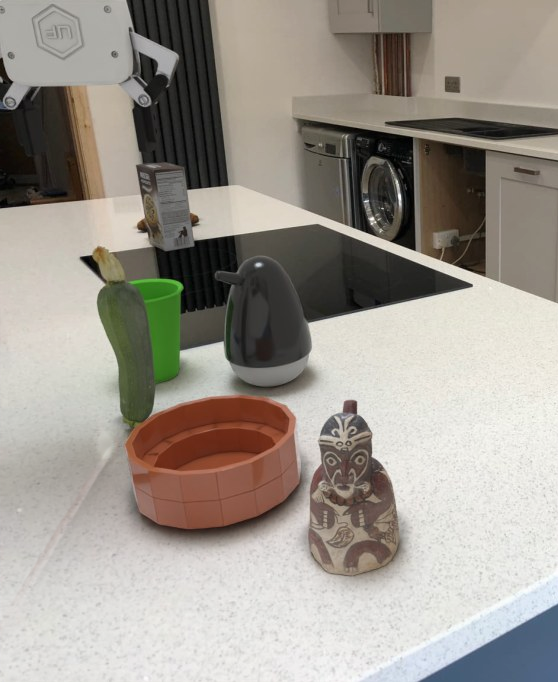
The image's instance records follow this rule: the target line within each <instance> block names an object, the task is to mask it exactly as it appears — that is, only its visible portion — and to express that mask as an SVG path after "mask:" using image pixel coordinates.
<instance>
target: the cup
mask: <svg viewBox="0 0 558 682" xmlns="http://www.w3.org/2000/svg"><path fill="white" fill-rule="evenodd" d="M128 282H129V283H131V284H133V285H134V286H136V287H137V288H138V290H139V291H140V293H141V295H142V297H143V299H144V302H145V305H146V309H147V314H148V320H149V326H150V335H151V342H152V349H153V362H154V373H155V384H159V383H163V382H166V381H170V380H172V379H173V378H175V377H177V376H178V375H179V371H180V368H181V303H182V301H181V295H182V294H181V293H182V291H183V290H184V285H183V283H181V282H180V281H178V280H175V279H170V278H169V279H168V278H146V279H136V280H131V281H128Z"/></svg>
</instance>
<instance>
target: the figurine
mask: <svg viewBox="0 0 558 682" xmlns="http://www.w3.org/2000/svg"><path fill="white" fill-rule="evenodd" d="M372 439H373V432H372V430H371V428H370V426H369V424H368V422H367V421H366V420H365V418H363V417H362V416H361V415H359V414H358V401H357V400H356V399H345V400H344V401H343V405H342V412H338V413H333V414H332V415H331V416H329V418H328V419H327V420H326V421H325V422H324V423H323V426H322V428H321V430H320V435H319V436H318V439H317V443H318V447H319V451H320V463H321V464H320V465H319V466H318V467H317V469H316V470H315V471H314V473H313V475H312V479H311V483H310V487H309V521H308V522H309V523H308V532H307V536H308V537H307V539H308V541H307V542H308V546H309V550H310V553H312V555H313V558H314V560H316V561H317V563H319V564H320V565H321V568H322V569H324V570H325V571H326V572H327V573H329V574H332V575H333V574H336V575H337V574H338V575H344V576H354V577H355V576H356V575H359V574H363V573H366V572H371V571H373V570H376V569H380V568H382V567H384V566H386V565H387V564H389V563H390V562H391V561H392V559H393V558H394V556H395V554H396V552H397V550H398V546H399V544H400V543H399V541H400V524H399V516H398V511H397V510H398V509H397V502H396V497H395V492H394V491H395V490H394V487H393V483H392V479H391V477H390V476H389V474H388V471H387V469H386V468H385V467H384V465H383V464H382V463H381V462H380V461H379V460H378V459H376V458H375V457H373V443H372Z"/></svg>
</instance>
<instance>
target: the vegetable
mask: <svg viewBox="0 0 558 682" xmlns="http://www.w3.org/2000/svg"><path fill="white" fill-rule="evenodd" d="M91 256H92V259H93V260H94V261H95V262H96V263H97V264H98V267H99V271H100V275H101V276H102V278H103V279H104V280H106V283H105V285H103V286H102V288H100V290H99V292H98V294H97V297H96V308H97V313H98V316H99V320H100V323H101V324H102V328H103V330H104V332H105V335H106V337H107V339H108V342H109V343H110V346H111V348H112V350H113V353H114V355H115V358H116V362H117V367H118V372H117V373H118V375H117V376H118V393H119V411H120V413H121V415H122V422H123V423H124V424H125V425H126V424H127V425H128V426H129V428H132V427H133V428H135V427H137V426H138V425H139V424H141V423H142V422H144V421H145V420H146V419H148V418H149V417H151V415H152V413H153V409H154V405H155V395H156V383H155V373H154V362H153V349H152V342H151V335H150V326H149V320H148V314H147V309H146V305H145V302H144V299H143V297H142V295H141V293H140V291H139V290H138V288H137V287H136V286H134V285H133V284H131V283H129V282H130V281H128V280H126V277H125V276H126V274H125V270H124V268H123V266H122V264H121V262H120V261H119V260H118V258H117V257H116V256H115V253H110V250H109V249H107V248H106V246H101V245H97V246H96V248H94V249H93V251H92V255H91Z"/></svg>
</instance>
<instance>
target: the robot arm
mask: <svg viewBox="0 0 558 682" xmlns="http://www.w3.org/2000/svg"><path fill="white" fill-rule="evenodd" d="M140 54H143V55H144V56H147V57H149V58H150V59H153V60H155V61H156V63H157V69H156V72H155V75H154V76H153V77H152V79H151V80H150V81H149V82H148V83H146V82H145V80H143V79H142V78H141V77H140V76H141V72H142V71H141V70H142V69H141V59H140ZM1 58H2V60H3V66H4V68H5V72H6V75H7V77H8V78H9V79H10V81H12V83H10V82H9V81H8V80H6V79H5V78H4V77H2V76H0V101H1V102H2V103H3V105H4V107H5V108H6V109H8V110H11V115H12V121H13V123H14V128H15V132H16V136H17V137H16V138H17V141H18V143H19V145H20V146H21V147H23V149H24V153H25V155H26V157H35V156H39V155H42V154H45V153H46V152H47V151H48V146H47V142H46V136H45V132H44V127H43V122H42V118H41V113H40V110H39V108H38V107H37V106H34V105H33V101H34V99H35V97H36V95H37V94H38V92H39V91H40V90H41V87H84V86H85V87H87V86H88V87H89V86H90V87H91V86H92V87H93V86H112V85H119V87H121V88H122V90H123V91H125V92H126V93H127V94H128V95H129V96H130V98H132V99H133V100H134V101H135V102H134V104H135V106H134V107H133V108H132V110H131V113H132V118H133V124H134V131H135V136H136V137H135V138H136V142H137V148H138V152H139V153H141V154H149V153H151V152H153V151H155V150H156V144H157V143H159V142H160V131H159V126H158V125H159V124H158V120H157V112H156V106H155V105H156V104H158V103H159V100H160V99H161V98H162V97H163V95H164V94H165V93H166V92H167V90H168V89H169V87H170V86H171V85H172V80H173V78H174V75H175V73H176V70H177V67H178V64H179V62H180V55H179V54H178V53H177V52H175V51H174V50H171V49H169V48H167V47H165V46H163V45H160V44H159V43H157V42H155V41H152V40H151V39H148V38H147V37H145V36H142V35H140V34H138V33H136V32H135V28H134V25H133V21H132V17H131V13H130V9H129V6H128V2H127V0H0V59H1Z"/></svg>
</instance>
